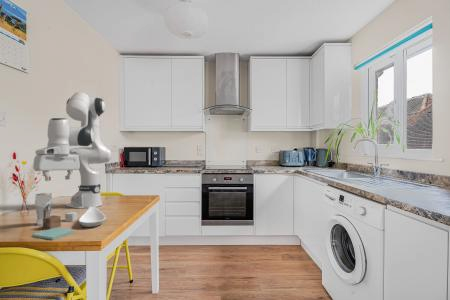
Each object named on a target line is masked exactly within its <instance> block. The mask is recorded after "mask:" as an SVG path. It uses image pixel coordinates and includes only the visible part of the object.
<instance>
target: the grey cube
mask: <svg viewBox="0 0 450 300" xmlns="http://www.w3.org/2000/svg"><path fill="white" fill-rule="evenodd" d="M78 213H79V212H78V211H70V212H67V213H65V215H64V220H65V222H67V223H68V222H70V223H71V222H72V223H73V222H75V221H77V220H78V221H79V218H78V217H79V216H78V215H79V214H78Z"/></svg>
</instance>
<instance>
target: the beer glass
mask: <svg viewBox="0 0 450 300" xmlns="http://www.w3.org/2000/svg"><path fill="white" fill-rule="evenodd" d="M34 205H35V211H36V223H35V225H36V226H43V218H45V217H49V216H51V211H52V206H53V197H52V192H51V193H50V192H43V193H42V192H41V193H37V194H35V199H34Z"/></svg>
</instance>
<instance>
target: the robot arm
mask: <svg viewBox="0 0 450 300" xmlns="http://www.w3.org/2000/svg"><path fill="white" fill-rule="evenodd" d="M65 105H66V106H65V111H66V115H68V117H70V118H71V119H72V120H74V121H78V122H80V126H79V127H78V126H73V127H72V126H70V124H69V119H68V118H65V117H62V118H61V117H59V118H58V117H53V118H50V119H49V120H48V125H47V138H48V142H47V145H46V146H47V147H43V148H39V149H36V150H35V153H34V154H35V156H34V158H33V167H32V168H33V170H34V171H35V172H42V175H43V177H44V181H46V182H50V181H51V180H52V179H51V178H52V176H49V171H50V172H51V171H53V172H54V171H66V173H67V174H66V175H64V179H65V180H71V175H72V174H73V171H77V170H78V171H79V174H80V185H78V187H77V188H78V191H77V192H76V193H74V194H73V195H72V196H71V198H70V203H68V204H66V207H69V208H73V209H88V208H89V207H97V208H98V207H100V206H102V205H103V201H102V193H101V184H100V183H101V179H100V178H101V177H100V176H101V175H100V172H99V171H98V170H97V169H95V168H93V167H90V165H91V164H92V165H95V164H96V165H97V164H107V163H109V162H110V161H111V160H112V156H113V155H112V151H111V150H110V149H109V148H108V147H107V146H105V145H104V143H103V142H102V140H101V133H100V119H99V118H100V117H101V115H102V114H104V113H105V111H106V103H105V101H104V99H102V98H100V97H92V96H91V97H90V96H89V95H88V94H87V93H85V92H83V91H78V92H77V91H76V92H75V93H73V95H72V96H71V97H69V98H68V99H67V100H66V104H65ZM90 145H91V146H90ZM72 146H73V148H70V147H72ZM77 146H80V147H77ZM89 146H90V147H89Z"/></svg>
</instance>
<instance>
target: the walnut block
mask: <svg viewBox="0 0 450 300" xmlns="http://www.w3.org/2000/svg"><path fill="white" fill-rule="evenodd" d="M61 217H62V216H59V215H50V216H49V217H45V218H43V225H42V228H43V229H44V230H45V229H46V230H48V229H52V228H61Z"/></svg>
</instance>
